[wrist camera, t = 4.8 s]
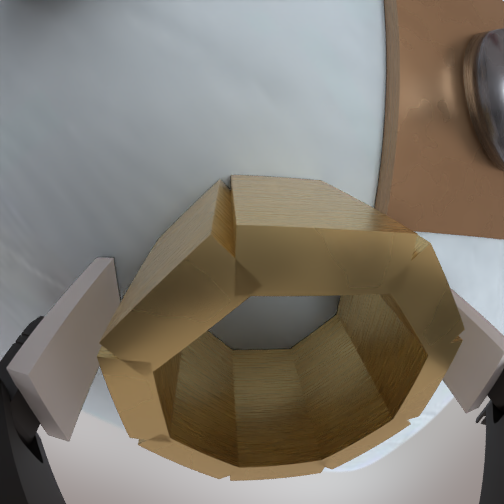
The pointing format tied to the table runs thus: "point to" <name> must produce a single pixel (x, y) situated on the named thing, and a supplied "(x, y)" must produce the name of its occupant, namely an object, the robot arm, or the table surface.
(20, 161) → the table surface
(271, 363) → the collar
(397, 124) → the doorknob
